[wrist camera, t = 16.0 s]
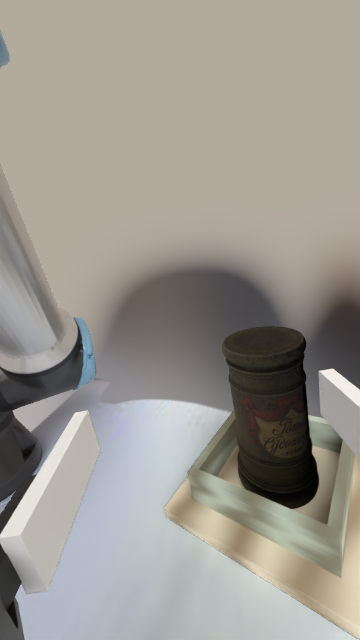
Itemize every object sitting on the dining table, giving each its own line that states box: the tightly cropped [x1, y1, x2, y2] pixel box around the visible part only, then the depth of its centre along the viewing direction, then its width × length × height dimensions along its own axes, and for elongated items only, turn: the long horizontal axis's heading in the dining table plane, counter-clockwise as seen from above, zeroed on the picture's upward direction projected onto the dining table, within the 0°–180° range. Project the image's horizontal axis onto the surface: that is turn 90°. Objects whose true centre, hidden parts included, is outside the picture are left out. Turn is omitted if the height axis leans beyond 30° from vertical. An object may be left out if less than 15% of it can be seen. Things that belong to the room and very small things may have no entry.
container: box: [222, 326, 319, 509], centre depth 29 cm, size 9×9×18 cm
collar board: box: [164, 411, 360, 640], centre depth 31 cm, size 20×20×6 cm
